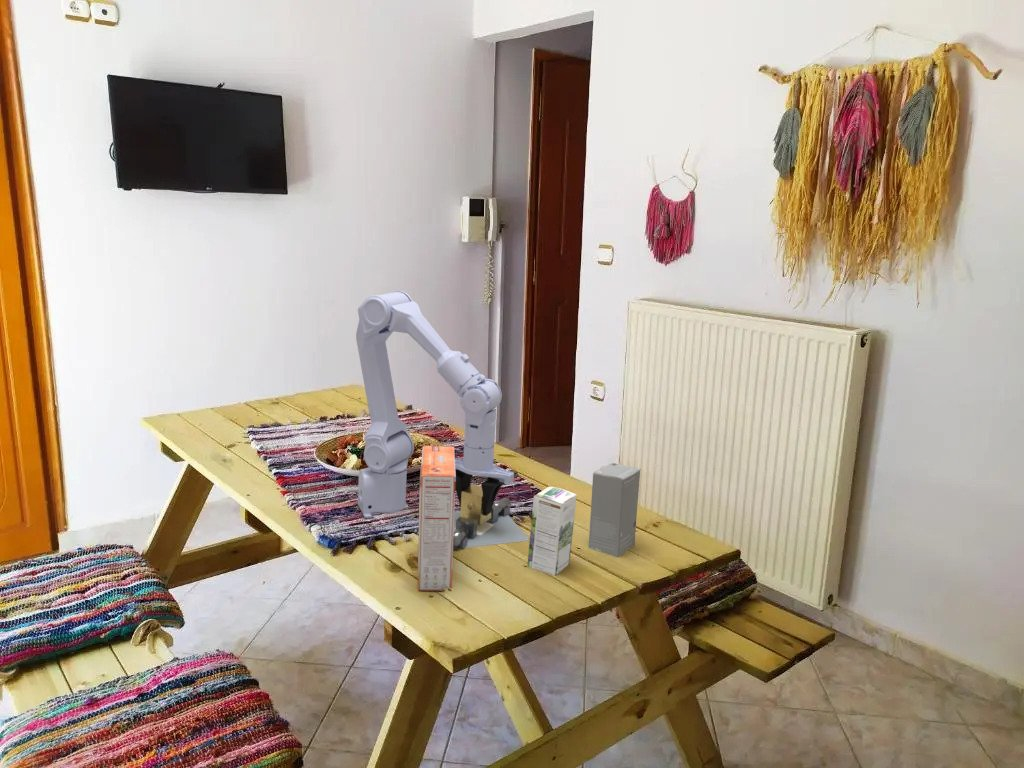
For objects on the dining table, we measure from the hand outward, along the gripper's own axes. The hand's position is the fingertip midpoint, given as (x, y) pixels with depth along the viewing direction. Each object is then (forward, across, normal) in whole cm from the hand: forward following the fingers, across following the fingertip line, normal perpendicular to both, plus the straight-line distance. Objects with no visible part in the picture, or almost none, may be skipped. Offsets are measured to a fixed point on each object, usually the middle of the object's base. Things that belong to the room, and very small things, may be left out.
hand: (475, 510), depth 155 cm
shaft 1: (+3, -1, +7) cm, 8 cm away
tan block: (+2, 0, 0) cm, 2 cm away
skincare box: (+4, -25, -8) cm, 27 cm away
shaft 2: (+3, -1, -7) cm, 8 cm away
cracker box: (+4, -2, +18) cm, 19 cm away
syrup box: (+4, -19, +6) cm, 20 cm away
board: (+4, 0, 0) cm, 4 cm away
